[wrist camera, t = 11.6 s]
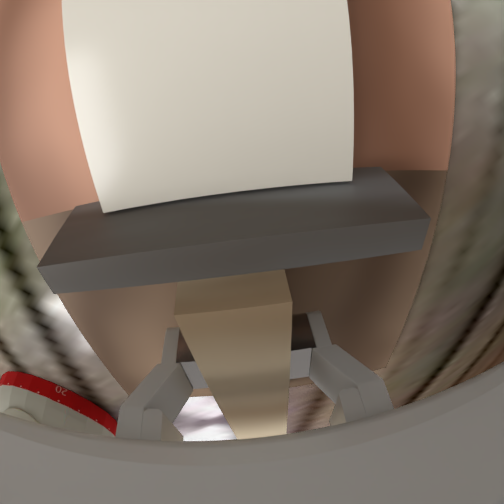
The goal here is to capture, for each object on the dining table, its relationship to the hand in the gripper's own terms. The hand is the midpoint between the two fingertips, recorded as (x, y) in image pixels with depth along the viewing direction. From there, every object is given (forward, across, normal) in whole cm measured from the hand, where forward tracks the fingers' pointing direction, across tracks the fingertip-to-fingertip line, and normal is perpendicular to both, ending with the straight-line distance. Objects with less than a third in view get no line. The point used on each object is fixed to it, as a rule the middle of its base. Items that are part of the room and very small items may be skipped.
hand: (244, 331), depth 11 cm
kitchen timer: (+4, +21, +16) cm, 26 cm away
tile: (+2, 0, -9) cm, 9 cm away
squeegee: (+2, 0, +2) cm, 3 cm away
